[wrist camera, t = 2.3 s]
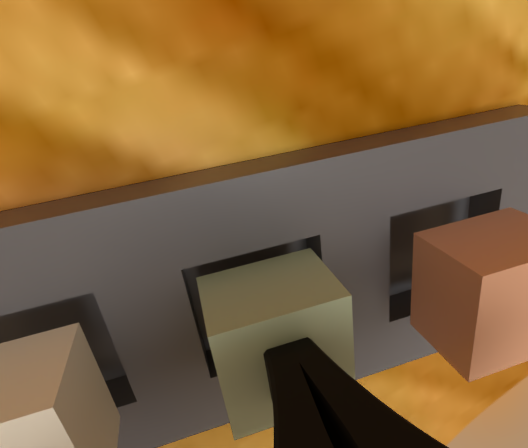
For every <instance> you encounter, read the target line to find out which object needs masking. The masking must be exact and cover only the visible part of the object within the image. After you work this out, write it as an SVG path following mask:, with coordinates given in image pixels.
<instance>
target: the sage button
mask: <svg viewBox="0 0 528 448" xmlns="http://www.w3.org/2000/svg"><path fill="white" fill-rule="evenodd" d="M196 280H197V285H198V290H199V295H200V301H201V306H202V311H203V316H204V322H205V327H206V332H207V337H208V341H209V345H210V349H211V353H212V356H213V360H214V364H215V368H216V372H217V376H218V379H219V383H220V387H221V391H222V395H223V398H224V402H225V406H226V410H227V414H228V418H229V421H230V425H231V429H232V433H233V437H234V440H237V439H240V438H243V437H245V436H248V435H251V434H254V433H257V432H260V431H263V430H265V429H268V428H271V427H274V416H273V402H272V399H271V393H270V388H269V382H268V377H267V371H266V366H265V361H264V355H263V354H264V352H265V351H266V350H267V349H270V348H273V347H276V346H280V345H283V344H286V343H289V342H293V341H296V340H299V339H302V338H306V337H308V338H310V339H312V340H313V341H314V343H315V344H316V345H317V346H318V347H319V348H320V349H321V350H322V351H323V352H325V353H326V354H327V355H328V356H329V357H330V358H331V359H332V360H333V361H334V362H335V363H336V364H337V365H338V366H339V367H341V368H342V369H343V370H344V371H345V372H346V373H347V374H348V375H350V376H351V377H352V378H353V379H354V380H355V360H354V337H353V315H352V295H351V294H350V293H349V292H348V290H347V289H346V288H345V287H344V286H343V285H342V284H341V282H340V281H339V280H338V279H337V278H336V277H335V275H334V274H333V273H332V272H331V271H330V270H329V269H328V267H327V266H326V265H325V264H324V263H323V262H322V261H321V259H320V258H319V257H318V256H317V255H316V254H315V252H314V251H313V250H312V249H311V248H308V249H304V250H300V251H296V252H292V253H289V254H285V255H281V256H277V257H273V258H269V259H266V260H262V261H258V262H254V263H250V264H246V265H242V266H239V267H235V268H231V269H227V270H223V271H219V272H216V273H212V274H208V275H204V276H200V277H196Z"/></svg>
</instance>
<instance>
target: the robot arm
mask: <svg viewBox="0 0 528 448" xmlns="http://www.w3.org/2000/svg"><path fill="white" fill-rule="evenodd" d="M263 355H264V361H265V366H266V371H267V377H268V382H269V388H270V393H271V399H272V402H273V416H274V448H448V447H447V446H445V445H443V444H442V443H440V442H439V441H437V440H435V439H434V438H432V437H431V436H429V435H428V434H426V433H425V432H423V431H422V430H420V429H419V428H417V427H416V426H414V425H413V424H411V423H410V422H409V421H407V420H406V419H404V418H403V417H402V416H400V415H399V414H397V413H396V412H395V411H393V410H392V409H391V408H389V407H388V406H387V405H385V404H384V403H383V402H381V401H380V400H379V399H378V398H376V397H375V396H374V395H373V394H371V393H370V392H369V391H368V390H366V389H365V388H364V387H363V386H362V385H360V384H359V383H358V382H357V381H356V380H354V379H353V378H352V377H351V376H350V375H348V374H347V373H346V372H345V371H344V370H343V369H342V368H341V367H339V366H338V365H337V364H336V363H335V362H334V361H333V360H332V359H331V358H330V357H329V356H328V355H327V354H326V353H325V352H323V351H322V350H321V349H320V348H319V347H318V346H317V345H316V344H315V343H314V341H313V340H312V339H310V338H308V337H306V338H302V339H299V340H296V341H293V342H289V343H286V344H283V345H280V346H276V347H273V348H270V349H267V350H266V351H265V352H264V354H263Z"/></svg>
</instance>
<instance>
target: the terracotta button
mask: <svg viewBox="0 0 528 448" xmlns="http://www.w3.org/2000/svg"><path fill="white" fill-rule="evenodd" d="M410 324H411V325H412V326H413V327H414V328H415V329H416V330H417V331H418V332H419V333H420V334H421V335H422V336H423V337H424V338H425V339H426V340H427V341H428V342H429V343H430V344H431V345H432V346H433V347H434V348H435V349H436V350H437V351H438V352H439V353H440V354H441V355H442V356H443V357H444V358H445V359H446V360H447V361H448V362H449V363H450V364H451V365H452V366H453V367H454V368H455V369H456V370H457V371H458V372H459V373H460V374H461V375H462V376H463V377H464V378H465V379H466V380H467V381H468V382H471V381H474V380H476V379H479V378H482V377H485V376H487V375H490V374H493V373H496V372H498V371H501V370H504V369H507V368H509V367H512V366H515V365H518V364H520V363H523V362H526V361H528V214H526V213H524V212H521V211H519V210H516V209H514V208H511V207H509V208H505V209H502V210H498V211H494V212H490V213H487V214H483V215H479V216H475V217H472V218H468V219H464V220H460V221H457V222H453V223H449V224H445V225H442V226H438V227H434V228H430V229H427V230H423V231H419V232H416V233H414V237H413V263H412V289H411V314H410Z"/></svg>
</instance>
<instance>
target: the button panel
mask: <svg viewBox="0 0 528 448" xmlns="http://www.w3.org/2000/svg"><path fill="white" fill-rule="evenodd" d="M509 207H511V208H514V209H516V210H519V211H521V212H524V213H526V214H528V105H515V106H510V107H505V108H501V109H496V110H491V111H486V112H481V113H476V114H472V115H467V116H462V117H457V118H452V119H447V120H442V121H438V122H433V123H428V124H423V125H418V126H413V127H409V128H404V129H399V130H394V131H389V132H384V133H379V134H375V135H370V136H365V137H360V138H355V139H350V140H345V141H341V142H336V143H331V144H326V145H321V146H316V147H312V148H307V149H302V150H297V151H292V152H287V153H282V154H278V155H273V156H268V157H263V158H258V159H253V160H248V161H244V162H239V163H234V164H229V165H224V166H219V167H215V168H210V169H205V170H200V171H195V172H190V173H185V174H181V175H176V176H171V177H166V178H161V179H156V180H152V181H147V182H142V183H137V184H132V185H127V186H122V187H118V188H113V189H108V190H103V191H98V192H93V193H88V194H84V195H79V196H74V197H69V198H64V199H59V200H55V201H50V202H45V203H40V204H35V205H30V206H25V207H21V208H16V209H11V210H6V211H1V212H0V343H4V342H8V341H11V340H15V339H19V338H23V337H26V336H30V335H34V334H38V333H41V332H45V331H49V330H52V329H56V328H60V327H64V326H67V325H71V324H75V323H79V324H80V326H81V328H82V330H83V333H84V335H85V337H86V340H87V342H88V344H89V346H90V349H91V351H92V353H93V355H94V358H95V360H96V362H97V364H98V367H99V369H100V371H101V373H102V376H103V378H104V380H105V383H106V385H107V387H108V389H109V392H110V394H111V396H112V398H113V401H114V403H115V405H116V407H117V410H118V412H119V414H120V425H119V435H118V445H117V448H157V447H160V446H163V445H166V444H169V443H172V442H175V441H177V440H180V439H183V438H186V437H189V436H192V435H195V434H198V433H201V432H204V431H207V430H210V429H213V428H216V427H219V426H222V425H225V424H227V423H230V421H229V418H228V414H227V410H226V406H225V402H224V398H223V395H222V391H221V387H220V383H219V379H218V376H217V372H216V368H215V364H214V360H213V356H212V353H211V349H210V345H209V341H208V337H207V332H206V327H205V322H204V316H203V311H202V306H201V301H200V295H199V290H198V285H197V280H196V277H200V276H204V275H208V274H212V273H216V272H219V271H223V270H227V269H231V268H235V267H239V266H242V265H246V264H250V263H254V262H258V261H262V260H266V259H269V258H273V257H277V256H281V255H285V254H289V253H292V252H296V251H300V250H304V249H308V248H311V249H312V250H313V251H314V252H315V254H316V255H317V256H318V257H319V258H320V259H321V261H322V262H323V263H324V264H325V265H326V266H327V267H328V269H329V270H330V271H331V272H332V273H333V274H334V275H335V277H336V278H337V279H338V280H339V281H340V282H341V284H342V285H343V286H344V287H345V288H346V289H347V290H348V292H349V293H350V294H351V295H352V315H353V337H354V360H355V380H357V379H360V378H363V377H366V376H369V375H372V374H375V373H378V372H380V371H383V370H386V369H389V368H392V367H395V366H398V365H401V364H404V363H407V362H410V361H413V360H416V359H419V358H422V357H425V356H428V355H430V354H433V353H436V352H438V351H437V350H436V349H435V348H434V347H433V346H432V345H431V344H430V343H429V342H428V341H427V340H426V339H425V338H424V337H423V336H422V335H421V334H420V333H419V332H418V331H417V330H416V329H415V328H414V327H413V326H412V325H411V324H410V314H411V289H412V263H413V237H414V233H416V232H419V231H423V230H427V229H430V228H434V227H438V226H442V225H445V224H449V223H453V222H457V221H460V220H464V219H468V218H472V217H475V216H479V215H483V214H487V213H490V212H494V211H498V210H502V209H505V208H509Z"/></svg>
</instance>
